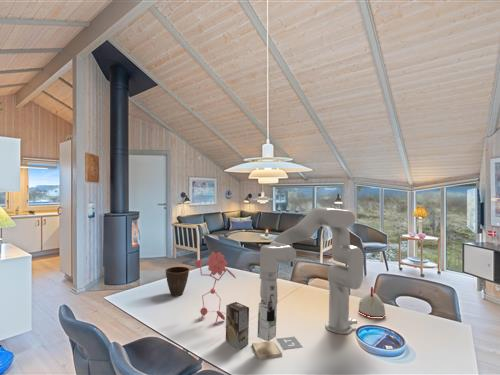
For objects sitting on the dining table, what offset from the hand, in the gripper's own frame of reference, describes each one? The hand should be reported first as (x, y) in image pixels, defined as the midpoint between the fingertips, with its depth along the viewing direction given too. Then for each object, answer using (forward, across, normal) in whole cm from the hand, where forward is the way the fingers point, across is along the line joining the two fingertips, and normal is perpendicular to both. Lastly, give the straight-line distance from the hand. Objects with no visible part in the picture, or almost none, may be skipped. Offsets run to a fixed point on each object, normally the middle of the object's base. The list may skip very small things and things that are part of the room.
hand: (267, 316), depth 118 cm
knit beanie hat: (+14, +24, -71) cm, 76 cm away
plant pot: (+15, +75, +37) cm, 85 cm away
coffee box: (+15, +9, +11) cm, 20 cm away
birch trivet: (+14, 0, 0) cm, 14 cm away
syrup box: (+9, 0, 0) cm, 9 cm away
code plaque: (+14, +4, -12) cm, 19 cm away
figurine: (+15, +36, +17) cm, 42 cm away
